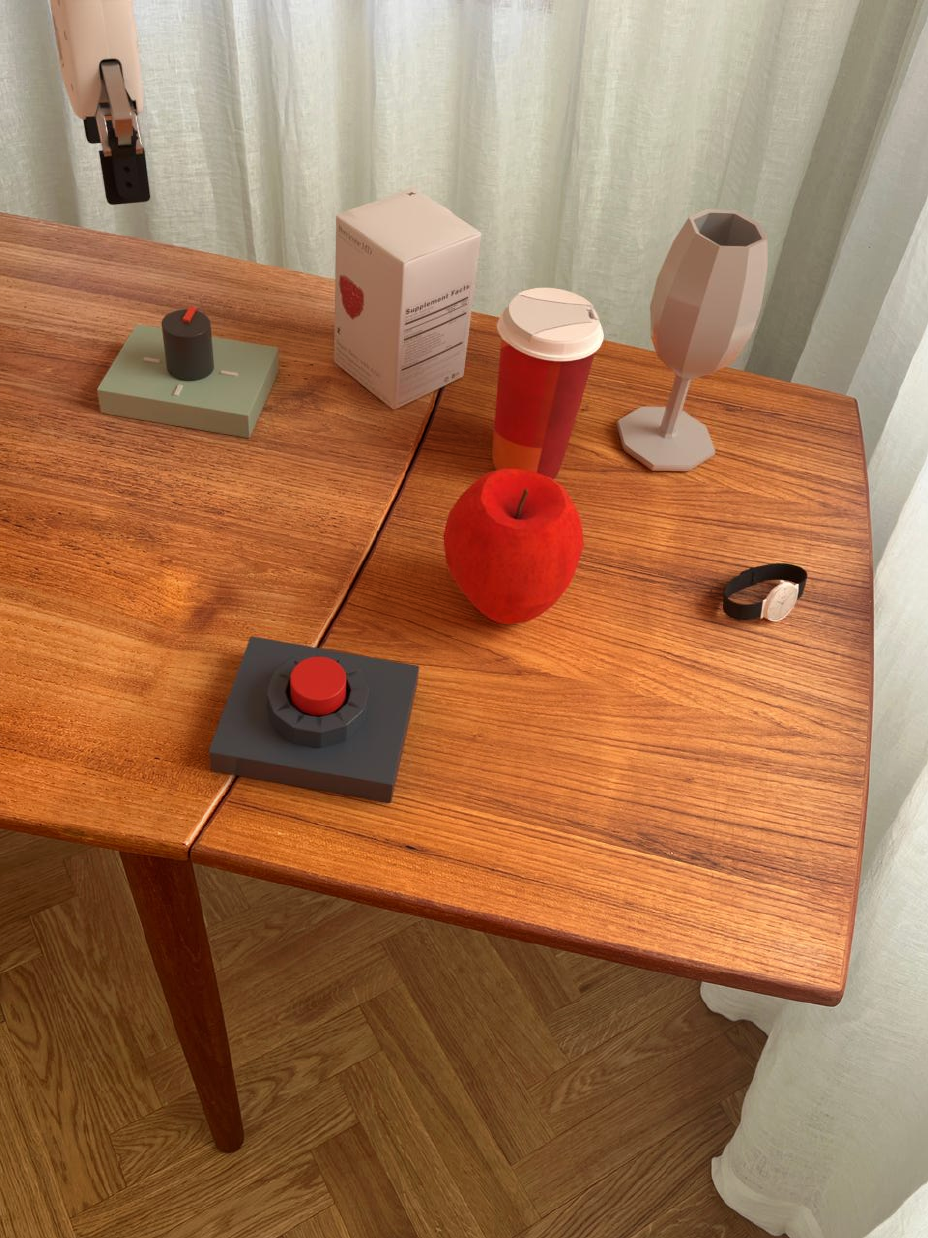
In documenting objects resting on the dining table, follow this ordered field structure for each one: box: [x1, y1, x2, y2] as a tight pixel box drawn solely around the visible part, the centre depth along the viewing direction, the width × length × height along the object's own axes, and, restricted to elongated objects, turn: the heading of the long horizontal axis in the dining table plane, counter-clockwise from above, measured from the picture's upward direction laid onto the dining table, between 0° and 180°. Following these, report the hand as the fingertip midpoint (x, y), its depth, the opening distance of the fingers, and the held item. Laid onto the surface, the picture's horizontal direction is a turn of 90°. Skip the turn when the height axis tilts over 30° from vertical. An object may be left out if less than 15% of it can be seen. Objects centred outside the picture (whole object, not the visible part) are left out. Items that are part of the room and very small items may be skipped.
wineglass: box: [615, 208, 769, 472], centre depth 92 cm, size 9×9×21 cm
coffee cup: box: [492, 287, 605, 480], centre depth 91 cm, size 8×8×15 cm
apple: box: [442, 468, 585, 625], centre depth 80 cm, size 10×10×12 cm
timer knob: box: [160, 306, 214, 381], centre depth 94 cm, size 4×4×5 cm
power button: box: [290, 657, 346, 716], centre depth 72 cm, size 4×4×2 cm
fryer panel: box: [96, 323, 280, 439], centre depth 97 cm, size 13×10×3 cm
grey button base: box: [208, 636, 420, 804], centre depth 74 cm, size 12×10×4 cm
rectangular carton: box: [333, 187, 483, 410], centre depth 98 cm, size 9×9×15 cm
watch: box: [722, 562, 809, 622], centre depth 86 cm, size 8×5×4 cm, turn 122°
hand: (117, 170), depth 87 cm, fingers open, 9 cm apart
